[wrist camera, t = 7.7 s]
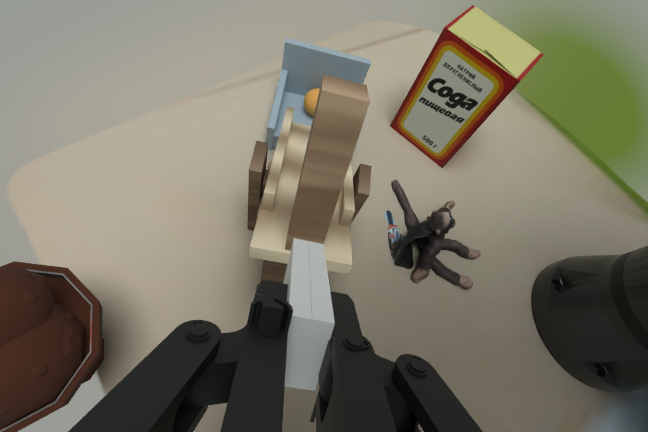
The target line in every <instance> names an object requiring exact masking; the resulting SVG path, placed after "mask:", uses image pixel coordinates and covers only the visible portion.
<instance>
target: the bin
mask: <svg viewBox="0 0 648 432" xmlns="http://www.w3.org/2000/svg"><path fill="white" fill-rule="evenodd" d="M370 63H371V60H369V59H366V58H362V57H358V56H354V55H350V54H346V53H342V52H339V51H335V50H331V49H327V48H323V47H319V46H316V45H312V44H308V43H304V42H300V41H296V40H292V39H289V38H286V41H285V47H284V55H283V64H282V71H281V75H280V79H279V83H278V87H277V91H276V95H275V99H274V103H273V107H272V111H271V115H270V119H269V123H268V127H267V138H266V143H268V149H272V148H273V149H276V146H277V142H278V139H279V135H280V131H281V128H282V124H283V120H284V117H285V113H286V109H287V106H288V107H292V108H295V109H294V114H293V119H292V122H295V123H299V124H304V125H308V126H311V125H312V121H313V117H314V116H313V115H311V114H309V113H308V112H307V111H306V109H305V107H304V97H305V95H306V94H307V93H308V92H309V91H310V90H312V89H315V88H319V89H320V86H321V81H322V77H323V74H324V75H328V76H332V77H336V78H340V79H344V80H348V81H352V82H356V83H360V84H363V82H364V79H365V77H366V74H367V72H368V69H369V67H370Z"/></svg>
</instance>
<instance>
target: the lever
mask: <svg viewBox="0 0 648 432" xmlns="http://www.w3.org/2000/svg"><path fill="white" fill-rule="evenodd" d="M369 103H370V100H369V95H368V91H367V86H366V85H364V84H360V83H356V82H352V81H348V80H344V79H340V78H336V77H332V76H328V75H324V74H323V77H322V81H321V86H320V90H319V95H318V99H317V103H316V108H315V112H314V117H313V121H312V125H311V126H308V125H304V124H299V123H295V122H292V119H293V114H294V109H295V108H292V107H288V106H287V109H286V113H285V117H284V120H283V124H282V128H281V131H280V135H279V139H278V142H277V146H276V150H275V153H274V157H273V161H272V164H271V168H270V172H269V175H268V179H267V183H266V186H265V190H264V195H263V199H262V203H261V207H260V211H259V214H258V218H257V222H256V225H255V229H254V233H253V237H252V240H251V244H250V249H249V256H248V257H251V258H257V259H263V260H268V261H274V262H279V263H285V264H288V260H289V256H290V252H291V248H292V243H293V239H294V238H296V239H301V240H306V241H311V242H315V243H320V244H323V245H324V252H325V258H326V265H327V271H330V272H336V273H341V274H347V275H349V272H350V270H351V267H352V248H351V229H350V223H351V220H352V218H353V215H354V212H355V204H354V190H353V176H352V163H351V158H352V155H353V152H354V149H355V146H356V143H357V140H358V137H359V134H360V131H361V127H362V124H363V121H364V118H365V115H366V112H367V109H368V106H369Z"/></svg>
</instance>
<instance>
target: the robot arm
mask: <svg viewBox="0 0 648 432" xmlns="http://www.w3.org/2000/svg"><path fill="white" fill-rule="evenodd" d="M532 305H533V313H534V317H535V321H536V324H537V327H538V330H539V332H540V335H541V337H542V339H543V341H544V342H545V344H546V346H547V347H548V349H549V350H550V352H551V353H552V355H553V356H554V357H555V359H556V360H557V361H558V362H559V363H560V364H561V365H562V366H563V367H564V368H565V369H566V370H567V371H568V372H569V373H570V374H572V375H573V376H574V377H576V378H577V379H579V380H580V381H582V382H584V383H585V384H588V385H590V386H592V387H595V388H598V389H602V390H609V391H630V390H637V389H641V388H644V387H646V386H648V246H646V247H643V248H640V249H637V250H634V251H632V252H629V253H626V254H623V255H601V256H576V257H570V258H567V259H564V260H561V261H559V262H556V263H554V264H552V265H550V266H548V267H546V268H545V269H544V270H543V271H542V272H541V273H540V275H539V276H538V278H537V280H536V282H535V285H534V289H533V296H532ZM318 379H319V392H318V395H317V399H316V402H315V405H314V409H313V412H312V416H311V420H310V422H314V419H315V416H316V429H317V432H421V431H420V430H419V428H418V425H419V424H420V426H421V427H422V429H423V431H424V432H482V430H481V429H480V428H479V426H478V425H477V424H476V422H475V421H474V420H473V419H472V417H471V416H470V415H469V413H468V412H467V411H466V409H465V408H464V407H463V406H462V404H461V403H460V402H459V400H458V399H457V398H456V396H455V395H454V394H453V392H452V391H451V390H450V389H449V387H448V386H447V385H446V383H445V382H444V381H443V379H442V378H441V377H440V376H439V374H438V373H437V372H436V370H435V369H434V368H433V367H432V366H431V365H430V364H429V363H428V362H427V361H425V360H424V359H422V358H420V357H417V356H415V355H410V354H404V355H400V356H399V357H398V358H397V360H396V363H395V362H392V361H390V360H387V359H385V358H382V357H380V356H378V355H376V354H375V353H374V350H373V347H372V345H371V343H370V342H369V341H368V340H367V339H366V338H365V337H363V336H362V333H361V329H360V325H359V321H358V318H357V314H356V311H355V306H354V302H353V301H352V300H351V298H350V297H349V296H348V295H347V294H342V293H336V292H331V291H330V286H329V279H328V272H327V265H326V258H325V252H324V245H323V244H320V243H315V242H311V241H306V240H301V239H296V238H294V239H293V243H292V248H291V252H290V256H289V260H288V265H287V269H286V273H285V278H284V282H283V283H278V282H273V281H268V280H263V281H262V282H261V283H260V284H258V285H257V289H256V294H255V297H254V300H253V302H252V303H251V308H250V313H249V318H248V322H247V325H246V326H245V327H244V328H242V329H241V330H239V331H236V332H231V333H221V331H220V329H219V328H218V327H217V326H216V325H215V324H213V323H211V322H208V321H203V320H191V321H188V322H184V323H183V324H181V325H179V326H178V327H177V328H176V329H175V330H174V331H173V332H171V333H170V334H169V335H168V336H167V337H166V338H165V339H164V340H163V341H162V342H161V343H160V344H159V345H158V346H157V347H156V348H155V349H154V350H153V351H152V352H151V353H150V354H149V355H148V356H147V357H145V358H144V359H143V360H142V361H141V362H140V363H139V364H138V365H137V366H136V367H135V368H134V369H133V370H132V371H131V372H130V373H129V374H128V375H127V376H126V377H125V378H124V379H123V380H122V381H121V382H119V383H118V384H117V385H116V386H115V387H114V388H113V389H112V390H111V391H110V392H109V393H108V394H107V395H106V396H105V397H104V398H103V399H102V400H101V401H100V402H99V403H98V404H97V405H96V406H95V407H94V408H92V410H90V411H89V412H88V413H87V414H86V415H85V416H84V417H83V418H82V419H81V420H80V421H79V422H78V423H77V424H76V425H75V426H74V427H73V428H72V429H71V430H70V431H68V432H193V431H194V429H195V428H196V426H197V425H198V423H199V421H200V420H201V418H202V417H203V415H204V414H205V412H206V410H207V407H208V405H213V404H220V403H228V404H227V408H226V412H225V416H224V420H223V424H222V428H221V432H282V419H283V403H284V387H291V388H298V389H305V390H311V391H315V390H316V386H317V383H318Z"/></svg>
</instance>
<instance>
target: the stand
mask: <svg viewBox="0 0 648 432" xmlns="http://www.w3.org/2000/svg"><path fill="white" fill-rule="evenodd" d="M267 151H268V143H264V142H260V141H256V145H255V149H254V153H253V156H252V160H251V164H250V168H249V193H248V229H250V230H254V229H255V225H256V222H257V218H258V214H259V211H260V207H261V203H262V199H263V195H264V190H265V186H266V183H267V179H268V175H269V172H270V168H271V164H272V163H269V165H268V169H267V170H266V161H267ZM370 177H371V166H368V165H364V164H360V165H359V167H358V169H357V171H356V173H355V175H354V177H353V190H354V204H355V212H354V215H353V218H352V220H351V223H352V221H353V219H354V218H355V216H356V215H357V213H358V212H359V210H360V209H361V207H362V206H363V204H364V202H365V201H366V199H367V198H368V196H369V192H370ZM351 223H350V224H351ZM287 265H288V264H285V263H279V262H274V261H268V260H264V263H263V270H262V276H261V282H262V281H263V280H268V281H273V282H278V283H283V282H284V278H285V273H286V269H287ZM261 282H260V283H261Z"/></svg>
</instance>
